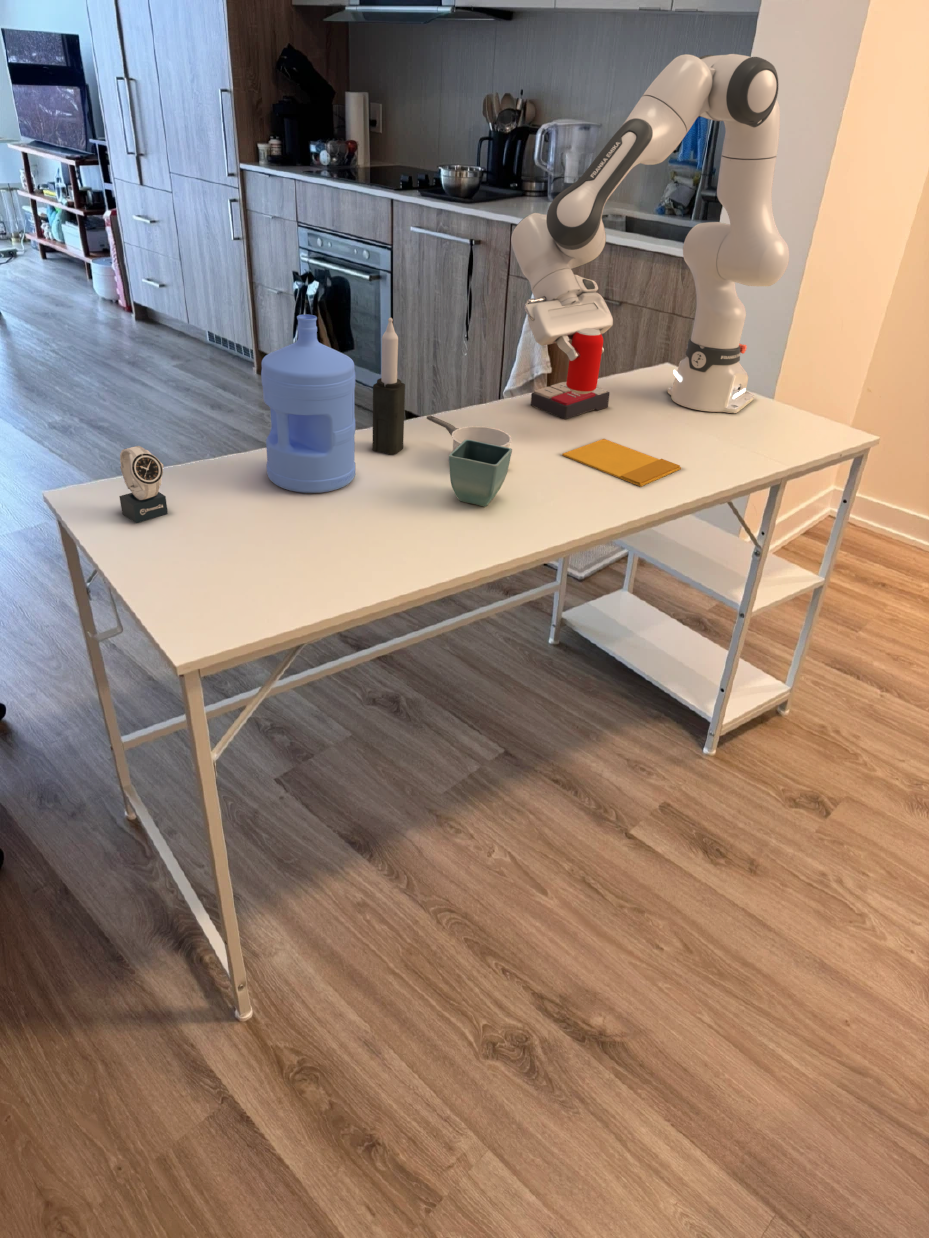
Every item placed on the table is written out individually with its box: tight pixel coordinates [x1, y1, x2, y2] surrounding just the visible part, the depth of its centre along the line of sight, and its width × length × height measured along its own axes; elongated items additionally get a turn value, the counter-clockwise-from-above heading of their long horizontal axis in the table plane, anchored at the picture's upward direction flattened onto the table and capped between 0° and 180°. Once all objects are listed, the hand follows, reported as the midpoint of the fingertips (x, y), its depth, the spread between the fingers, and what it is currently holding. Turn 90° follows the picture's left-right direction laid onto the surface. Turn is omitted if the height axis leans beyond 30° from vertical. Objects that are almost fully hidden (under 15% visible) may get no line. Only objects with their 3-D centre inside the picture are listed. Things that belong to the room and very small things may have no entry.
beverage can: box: [565, 328, 604, 394], centre depth 173 cm, size 6×6×12 cm
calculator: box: [530, 381, 611, 420], centre depth 197 cm, size 11×4×15 cm
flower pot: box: [448, 439, 513, 507], centre depth 149 cm, size 9×9×9 cm
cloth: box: [561, 438, 682, 488], centre depth 171 cm, size 14×19×1 cm
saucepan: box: [425, 414, 513, 452], centre depth 166 cm, size 12×20×6 cm, turn 47°
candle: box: [371, 317, 406, 456], centre depth 162 cm, size 5×5×25 cm
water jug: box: [260, 313, 356, 494], centre depth 147 cm, size 16×16×28 cm
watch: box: [119, 445, 169, 524], centre depth 135 cm, size 6×8×11 cm
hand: (588, 356), depth 172 cm, fingers closed on beverage can, 6 cm apart
